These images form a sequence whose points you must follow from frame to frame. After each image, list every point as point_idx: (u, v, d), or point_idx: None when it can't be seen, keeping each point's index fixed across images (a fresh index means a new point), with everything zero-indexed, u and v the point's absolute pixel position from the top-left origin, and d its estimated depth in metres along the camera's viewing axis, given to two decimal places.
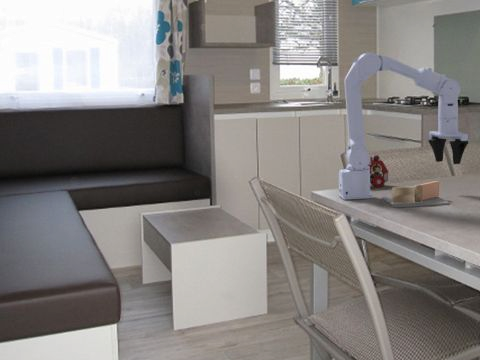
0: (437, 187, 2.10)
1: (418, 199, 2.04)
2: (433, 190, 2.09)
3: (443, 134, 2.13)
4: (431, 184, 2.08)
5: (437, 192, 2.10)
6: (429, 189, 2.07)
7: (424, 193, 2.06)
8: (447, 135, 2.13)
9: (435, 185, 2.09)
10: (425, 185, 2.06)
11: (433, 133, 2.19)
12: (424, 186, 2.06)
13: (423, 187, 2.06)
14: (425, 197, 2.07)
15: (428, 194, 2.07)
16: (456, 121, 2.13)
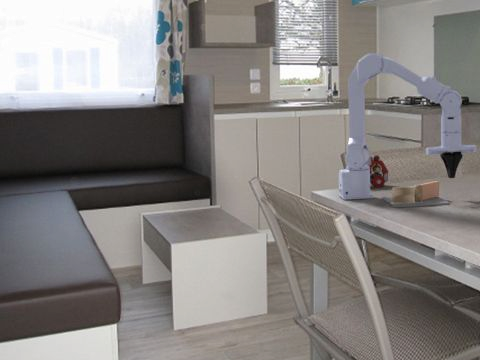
0: (437, 187, 2.10)
1: (418, 199, 2.04)
2: (433, 190, 2.09)
3: (458, 148, 2.06)
4: (431, 184, 2.08)
5: (437, 192, 2.10)
6: (429, 189, 2.07)
7: (424, 193, 2.06)
8: (462, 148, 2.06)
9: (435, 185, 2.09)
10: (425, 185, 2.06)
11: (437, 149, 2.07)
12: (424, 186, 2.06)
13: (423, 187, 2.06)
14: (425, 197, 2.07)
15: (428, 194, 2.07)
16: None
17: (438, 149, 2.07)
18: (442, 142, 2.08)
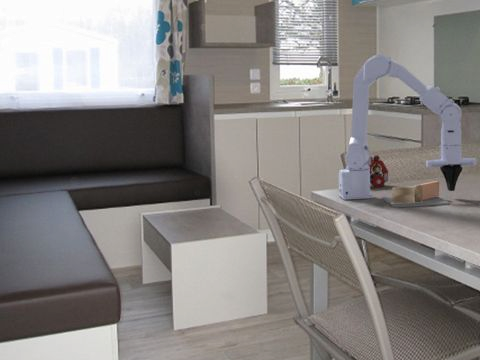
0: (437, 187, 2.10)
1: (418, 199, 2.04)
2: (433, 190, 2.09)
3: (458, 161, 2.06)
4: (431, 184, 2.08)
5: (437, 192, 2.10)
6: (429, 189, 2.07)
7: (424, 193, 2.06)
8: (461, 161, 2.07)
9: (435, 185, 2.09)
10: (425, 185, 2.06)
11: (437, 162, 2.07)
12: (424, 186, 2.06)
13: (423, 187, 2.06)
14: (425, 197, 2.07)
15: (428, 194, 2.07)
16: None
17: (438, 162, 2.07)
18: (442, 155, 2.08)
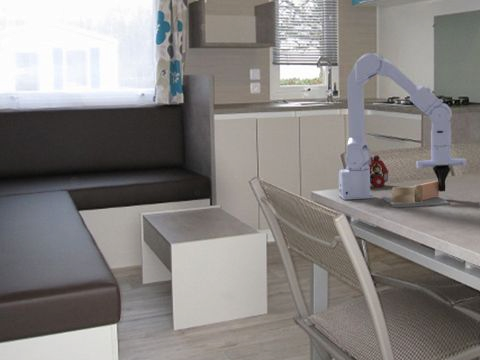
0: (436, 187, 2.10)
1: (418, 199, 2.04)
2: (433, 190, 2.09)
3: (448, 161, 2.06)
4: (431, 184, 2.08)
5: (437, 192, 2.10)
6: (429, 189, 2.07)
7: (424, 193, 2.06)
8: (451, 162, 2.07)
9: (435, 185, 2.09)
10: (425, 185, 2.06)
11: (427, 163, 2.07)
12: (424, 186, 2.06)
13: (423, 187, 2.06)
14: (425, 197, 2.07)
15: (428, 194, 2.07)
16: None
17: (428, 162, 2.07)
18: (432, 155, 2.08)
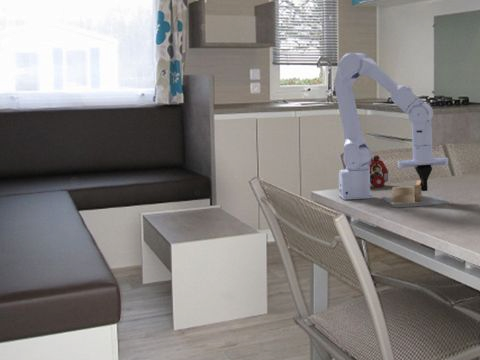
0: None
1: (418, 199, 2.04)
2: None
3: (429, 161, 2.06)
4: (420, 183, 2.10)
5: None
6: None
7: None
8: (433, 161, 2.06)
9: None
10: (420, 184, 2.07)
11: (408, 162, 2.07)
12: None
13: None
14: None
15: None
16: None
17: (409, 162, 2.07)
18: (413, 155, 2.08)
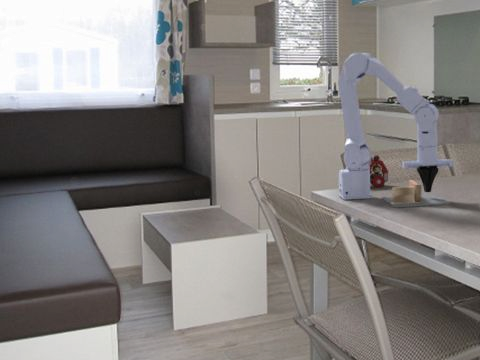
0: None
1: (418, 199, 2.04)
2: None
3: (434, 162, 2.06)
4: None
5: None
6: None
7: None
8: (437, 163, 2.06)
9: None
10: None
11: (413, 163, 2.07)
12: None
13: None
14: None
15: None
16: None
17: (414, 163, 2.07)
18: (418, 156, 2.08)
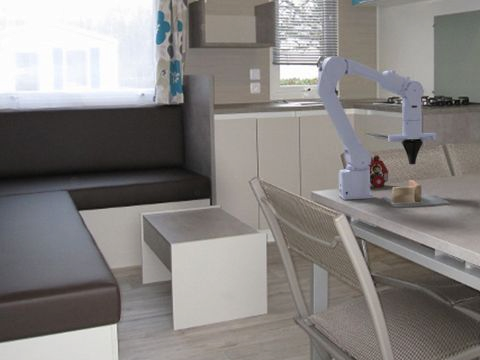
0: None
1: (418, 199, 2.04)
2: None
3: (418, 135, 2.15)
4: None
5: None
6: None
7: None
8: (421, 136, 2.16)
9: None
10: None
11: (398, 136, 2.16)
12: None
13: None
14: None
15: None
16: None
17: (399, 136, 2.16)
18: (403, 130, 2.17)
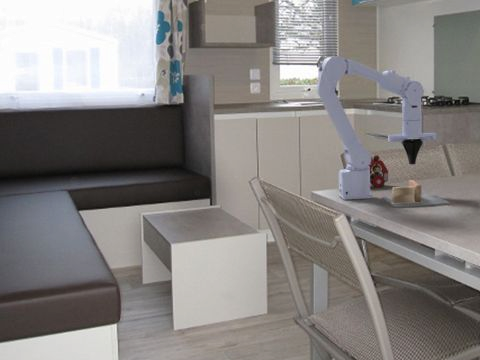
0: None
1: (418, 199, 2.04)
2: None
3: (418, 135, 2.15)
4: None
5: None
6: None
7: None
8: (421, 136, 2.16)
9: None
10: None
11: (398, 136, 2.16)
12: None
13: None
14: None
15: None
16: None
17: (399, 136, 2.16)
18: (403, 130, 2.17)
